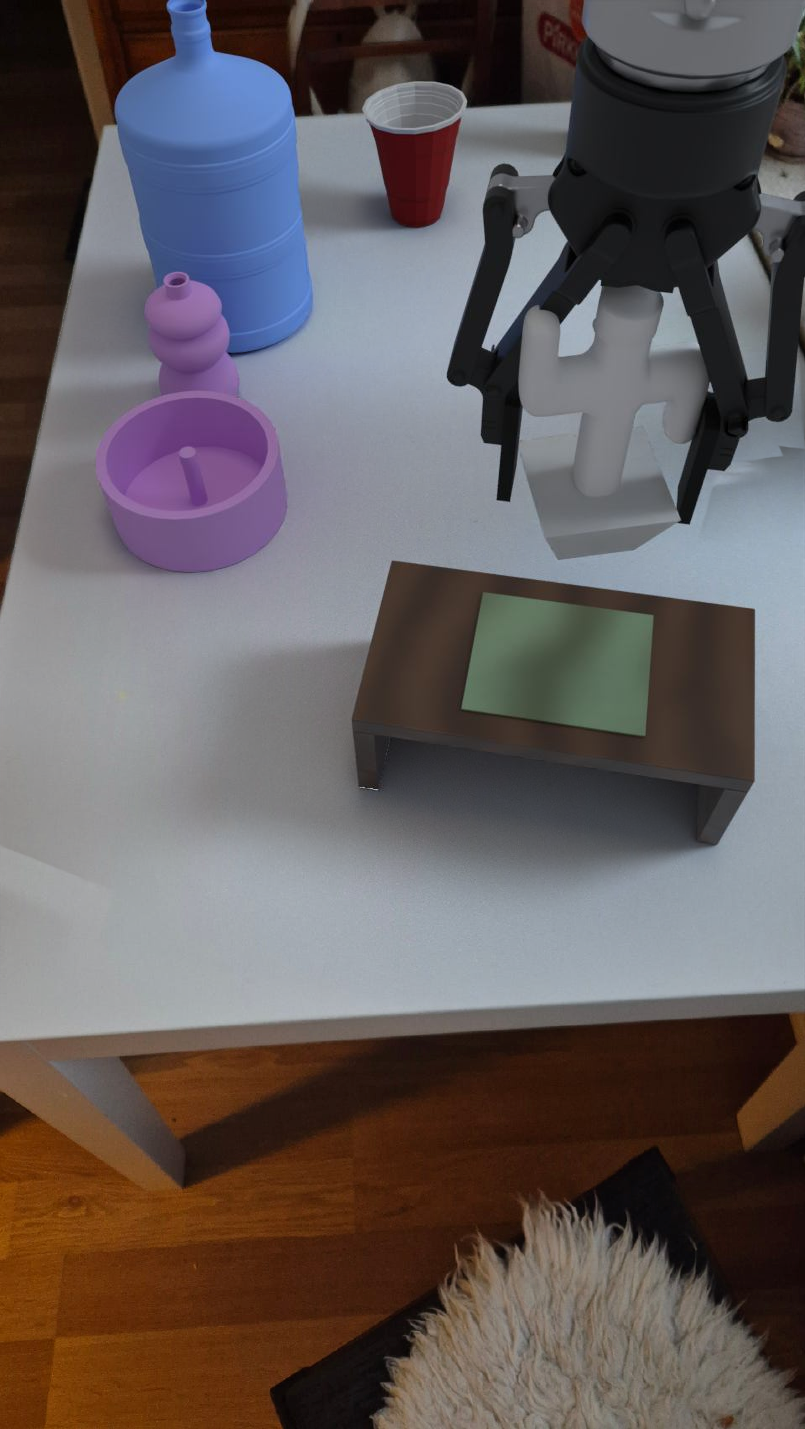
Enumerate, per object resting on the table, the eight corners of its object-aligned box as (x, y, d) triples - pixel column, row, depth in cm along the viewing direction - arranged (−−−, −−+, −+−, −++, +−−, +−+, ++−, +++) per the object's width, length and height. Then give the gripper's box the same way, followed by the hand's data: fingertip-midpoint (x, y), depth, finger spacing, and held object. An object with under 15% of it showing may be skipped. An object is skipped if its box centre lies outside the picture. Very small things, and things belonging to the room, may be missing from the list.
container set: (289, 565, 86) (269, 447, 75) (109, 578, 85) (62, 462, 74) (282, 372, 99) (265, 248, 88) (127, 382, 99) (89, 259, 88)
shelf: (721, 684, 79) (756, 606, 71) (717, 845, 71) (756, 779, 63) (394, 637, 82) (391, 558, 73) (358, 788, 74) (350, 718, 66)
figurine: (686, 563, 56) (762, 331, 43) (518, 586, 55) (545, 356, 42) (649, 471, 59) (710, 232, 47) (492, 491, 59) (509, 254, 46)
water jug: (274, 372, 99) (229, 65, 76) (135, 336, 102) (50, 31, 79) (338, 281, 107) (315, -23, 83) (206, 250, 110) (149, -51, 87)
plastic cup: (415, 174, 118) (414, 63, 108) (483, 211, 113) (489, 99, 103) (347, 213, 114) (339, 101, 104) (414, 253, 109) (414, 141, 99)
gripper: (367, 71, 35) (386, 519, 54) (1016, 122, 33) (798, 573, 52) (406, -25, 39) (411, 424, 58) (989, 14, 37) (796, 470, 56)
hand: (594, 494), depth 55 cm, fingers closed on figurine, 9 cm apart
